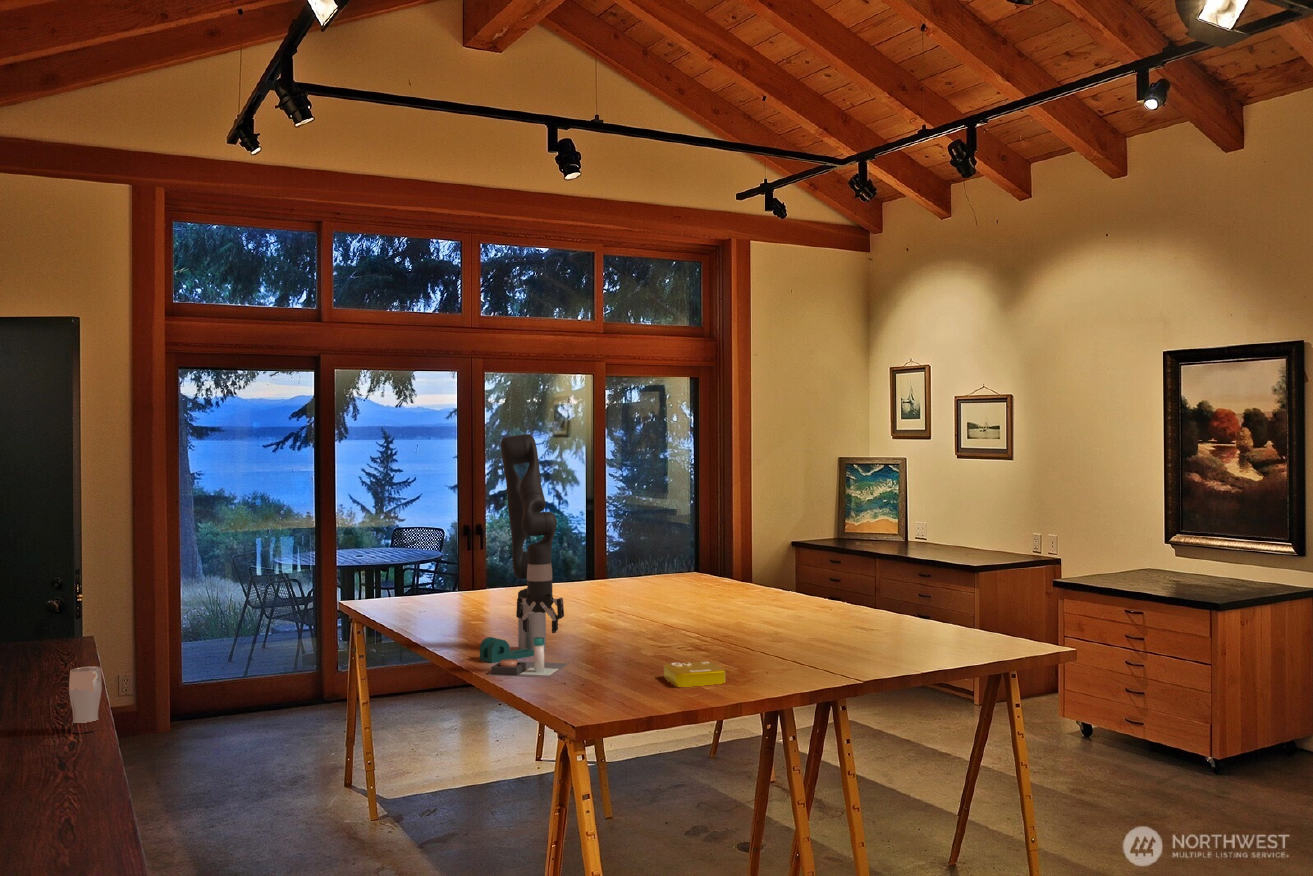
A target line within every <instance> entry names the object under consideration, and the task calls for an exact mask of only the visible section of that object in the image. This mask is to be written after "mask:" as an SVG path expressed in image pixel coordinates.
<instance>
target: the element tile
mask: <svg viewBox="0 0 1313 876" xmlns="http://www.w3.org/2000/svg"><path fill="white" fill-rule="evenodd" d="M664 678H665V679H666V680H667V683H669V682H671V683H672V684H673V685H674V686H673V685H672V684H671V683H670V684H671V685H672V686H673V687H675V686H676V687H675V688H677V687H691V688H693V687H692V686H704V685H714V684H722V683H725V682H726V679H727V678H726V670H725V669H724V668H722V667H721V666H719V665H717V664H716V663H714V662H712V661H708V660H705V661H693V662H691V661H690V662H671V663H666V664H664V665H663V679H664ZM665 679H664V680H665ZM666 680H665V681H666ZM726 683H727V682H726ZM704 687H705V686H704Z"/></svg>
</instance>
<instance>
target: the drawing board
mask: <svg viewBox="0 0 1313 876" xmlns="http://www.w3.org/2000/svg"><path fill="white" fill-rule="evenodd" d="M568 665H569V663H565V662H563V663H562V662H544V672H534V661H517V666H516V667H500V662H497V663H495V664H493V666H491V669H490V671H491V672H490V673H488V674H487V676H497V677H498V676H499V677H502V676H503V677H521V678H522V677H524V678H525V677H526V678H546V679H547V678H551V676H553V675H554V674H556V673H557V672H558V671H560V670H561V669H563V668H564V667H566V666H568Z"/></svg>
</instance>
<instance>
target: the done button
mask: <svg viewBox="0 0 1313 876" xmlns="http://www.w3.org/2000/svg"><path fill="white" fill-rule="evenodd" d="M517 662H518V659H504V660H501V661H500V667H516V666H517Z"/></svg>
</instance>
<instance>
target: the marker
mask: <svg viewBox="0 0 1313 876" xmlns="http://www.w3.org/2000/svg"><path fill="white" fill-rule="evenodd" d="M533 662H534V672H544V663H545V651H544V637H535V638H534V656H533Z"/></svg>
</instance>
